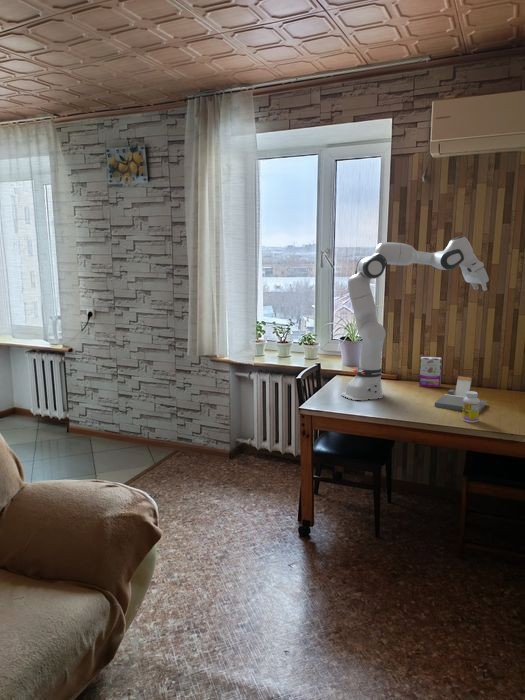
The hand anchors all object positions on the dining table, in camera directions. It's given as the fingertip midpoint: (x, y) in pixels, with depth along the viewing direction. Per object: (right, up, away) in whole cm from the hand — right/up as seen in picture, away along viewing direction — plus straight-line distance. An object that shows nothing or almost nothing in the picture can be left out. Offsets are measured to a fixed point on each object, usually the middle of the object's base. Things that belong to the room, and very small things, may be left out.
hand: (481, 289), depth 254 cm
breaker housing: (-16, -58, -13) cm, 61 cm away
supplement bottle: (-20, -62, -35) cm, 74 cm away
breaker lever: (-16, -54, -14) cm, 58 cm away
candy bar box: (-18, -51, +24) cm, 59 cm away
